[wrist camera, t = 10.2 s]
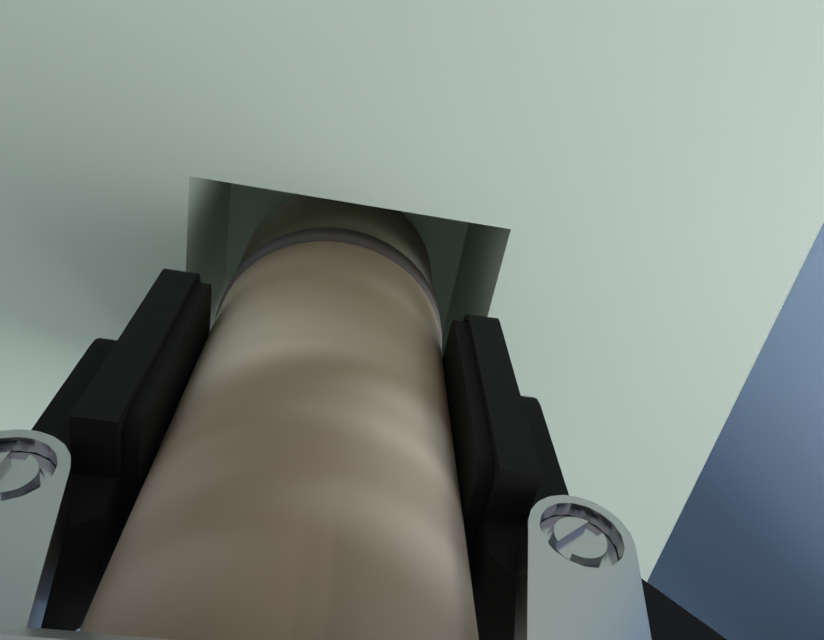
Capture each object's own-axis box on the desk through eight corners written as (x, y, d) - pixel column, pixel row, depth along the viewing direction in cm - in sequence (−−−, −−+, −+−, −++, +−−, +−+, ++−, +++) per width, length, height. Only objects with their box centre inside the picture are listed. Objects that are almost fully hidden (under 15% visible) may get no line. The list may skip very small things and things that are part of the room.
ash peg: (446, 181, 16) (645, 1035, 4) (412, 338, 18) (469, 1242, 6) (260, 149, 15) (-227, 1008, 3) (246, 314, 17) (-90, 1244, 5)
